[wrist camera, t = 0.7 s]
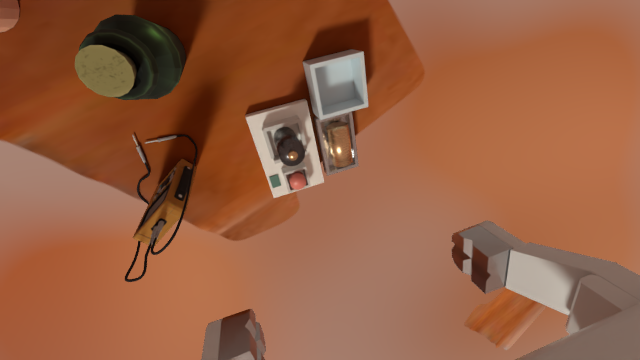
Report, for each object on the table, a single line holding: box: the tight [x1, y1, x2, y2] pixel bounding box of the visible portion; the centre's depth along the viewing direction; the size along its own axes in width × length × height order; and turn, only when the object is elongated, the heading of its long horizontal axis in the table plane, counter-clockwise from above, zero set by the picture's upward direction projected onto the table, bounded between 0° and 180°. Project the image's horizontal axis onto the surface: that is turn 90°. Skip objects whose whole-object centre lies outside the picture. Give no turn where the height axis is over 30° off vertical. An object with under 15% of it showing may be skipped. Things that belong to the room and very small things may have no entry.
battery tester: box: [245, 99, 324, 198], centre depth 46 cm, size 16×10×4 cm, turn 11°
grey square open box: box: [303, 49, 368, 120], centre depth 42 cm, size 8×8×4 cm
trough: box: [314, 111, 358, 175], centre depth 49 cm, size 11×6×2 cm, turn 11°
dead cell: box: [273, 127, 305, 166], centre depth 42 cm, size 4×4×8 cm
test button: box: [289, 171, 306, 190], centre depth 47 cm, size 3×3×2 cm
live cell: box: [326, 122, 353, 167], centre depth 47 cm, size 8×4×4 cm, turn 11°
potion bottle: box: [75, 15, 186, 100], centre depth 28 cm, size 8×8×18 cm
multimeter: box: [125, 135, 197, 282], centre depth 34 cm, size 15×10×20 cm
